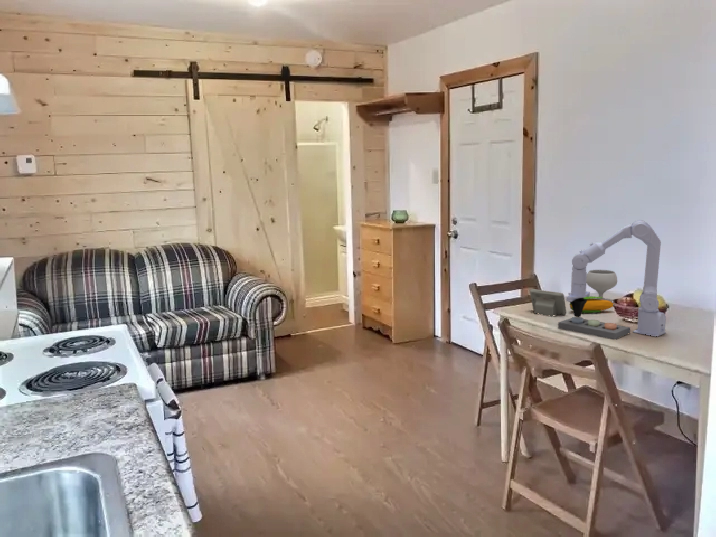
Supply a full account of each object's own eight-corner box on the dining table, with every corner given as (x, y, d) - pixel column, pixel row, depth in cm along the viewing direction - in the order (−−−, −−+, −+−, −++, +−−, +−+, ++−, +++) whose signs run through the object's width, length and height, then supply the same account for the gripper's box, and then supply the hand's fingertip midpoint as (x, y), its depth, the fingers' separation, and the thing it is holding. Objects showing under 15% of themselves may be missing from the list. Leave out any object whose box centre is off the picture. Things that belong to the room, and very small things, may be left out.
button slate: (585, 324, 252) (585, 318, 252) (579, 326, 250) (579, 320, 249) (575, 322, 256) (575, 316, 255) (569, 324, 253) (569, 318, 252)
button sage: (601, 327, 247) (601, 321, 247) (595, 329, 244) (596, 323, 244) (591, 325, 250) (591, 319, 250) (585, 327, 248) (585, 321, 247)
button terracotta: (618, 330, 242) (618, 324, 242) (613, 332, 239) (613, 326, 239) (607, 328, 245) (608, 322, 245) (602, 330, 242) (602, 324, 242)
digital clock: (568, 315, 273) (569, 291, 272) (555, 318, 268) (556, 294, 267) (539, 309, 287) (539, 286, 285) (525, 312, 282) (526, 289, 280)
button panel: (630, 333, 243) (630, 327, 242) (615, 339, 235) (615, 333, 234) (573, 322, 260) (574, 317, 260) (558, 328, 253) (558, 322, 252)
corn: (567, 294, 280) (611, 293, 281) (566, 310, 282) (609, 309, 282) (573, 299, 273) (618, 297, 273) (572, 315, 275) (616, 314, 275)
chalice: (613, 307, 287) (614, 275, 284) (581, 304, 294) (583, 272, 292) (618, 301, 299) (620, 270, 296) (588, 298, 306) (589, 268, 303)
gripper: (579, 279, 258) (577, 311, 260) (560, 284, 248) (558, 317, 250) (595, 282, 252) (593, 314, 255) (576, 287, 243) (574, 320, 245)
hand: (577, 316), depth 252 cm, fingers closed
